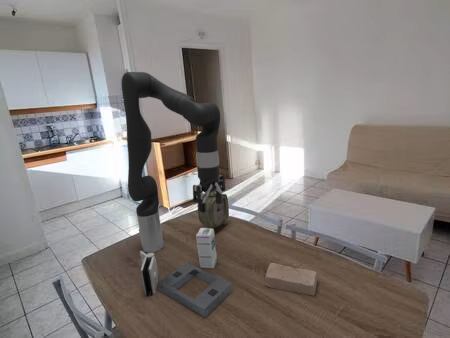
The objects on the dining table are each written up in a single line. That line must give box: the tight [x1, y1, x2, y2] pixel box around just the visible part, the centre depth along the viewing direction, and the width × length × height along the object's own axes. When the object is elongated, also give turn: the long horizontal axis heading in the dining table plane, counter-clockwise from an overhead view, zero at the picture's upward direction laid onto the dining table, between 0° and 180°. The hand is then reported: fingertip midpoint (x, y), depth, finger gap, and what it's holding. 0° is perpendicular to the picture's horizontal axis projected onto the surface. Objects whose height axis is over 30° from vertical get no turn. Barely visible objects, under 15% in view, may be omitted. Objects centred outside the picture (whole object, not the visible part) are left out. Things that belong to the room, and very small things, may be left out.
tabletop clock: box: [197, 191, 230, 234], centre depth 133 cm, size 14×9×25 cm, turn 147°
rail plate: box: [157, 262, 233, 318], centre depth 93 cm, size 22×14×3 cm, turn 52°
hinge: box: [139, 250, 159, 297], centre depth 98 cm, size 14×5×10 cm, turn 18°
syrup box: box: [195, 227, 218, 269], centre depth 106 cm, size 6×6×14 cm
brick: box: [264, 262, 318, 296], centre depth 93 cm, size 17×8×5 cm, turn 68°
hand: (211, 207), depth 96 cm, fingers open, 8 cm apart
